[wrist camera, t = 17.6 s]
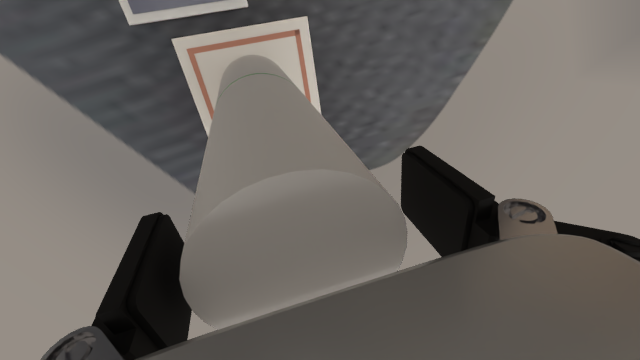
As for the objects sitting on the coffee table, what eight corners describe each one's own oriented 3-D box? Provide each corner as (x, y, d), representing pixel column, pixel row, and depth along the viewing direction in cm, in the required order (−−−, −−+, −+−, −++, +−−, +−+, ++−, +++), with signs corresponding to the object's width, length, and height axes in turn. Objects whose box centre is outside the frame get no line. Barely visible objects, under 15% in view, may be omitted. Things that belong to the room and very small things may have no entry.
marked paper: (171, 38, 26) (171, 39, 26) (306, 16, 28) (307, 16, 28) (217, 162, 33) (217, 163, 32) (324, 136, 34) (324, 137, 34)
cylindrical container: (244, 134, 32) (260, 364, 11) (205, 74, 28) (114, 254, 7) (299, 105, 32) (424, 279, 11) (269, 41, 28) (373, 120, 7)
